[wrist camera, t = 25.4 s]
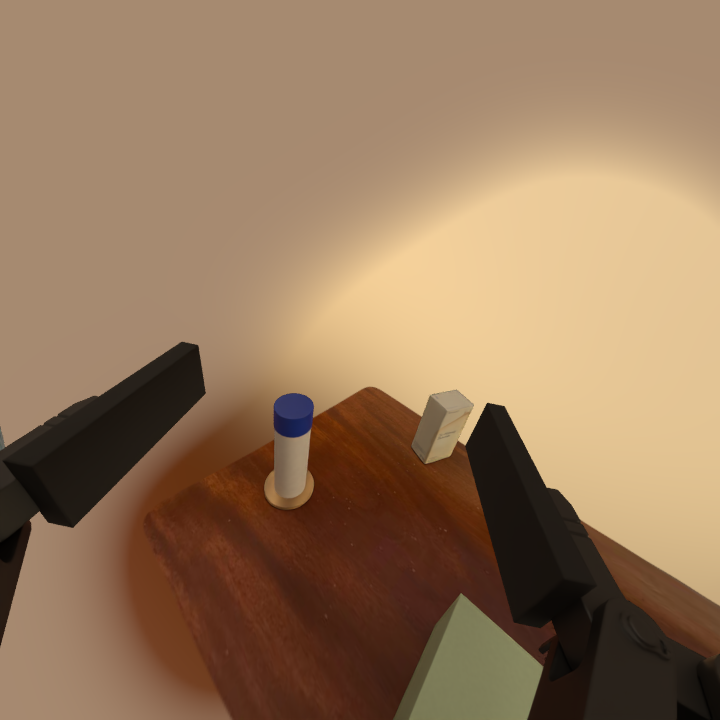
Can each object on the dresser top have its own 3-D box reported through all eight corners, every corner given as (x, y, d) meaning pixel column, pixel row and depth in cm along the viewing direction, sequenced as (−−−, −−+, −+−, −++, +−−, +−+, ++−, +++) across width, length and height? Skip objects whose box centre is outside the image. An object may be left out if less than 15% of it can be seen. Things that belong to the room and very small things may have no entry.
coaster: (266, 515, 37) (266, 513, 37) (262, 471, 42) (262, 468, 42) (318, 503, 40) (318, 500, 39) (308, 462, 45) (308, 460, 45)
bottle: (275, 502, 38) (276, 421, 30) (272, 474, 42) (271, 395, 34) (309, 494, 40) (317, 416, 32) (303, 467, 43) (309, 391, 36)
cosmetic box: (424, 465, 48) (446, 412, 42) (409, 446, 52) (428, 394, 45) (451, 456, 51) (476, 405, 45) (436, 438, 54) (457, 388, 48)
